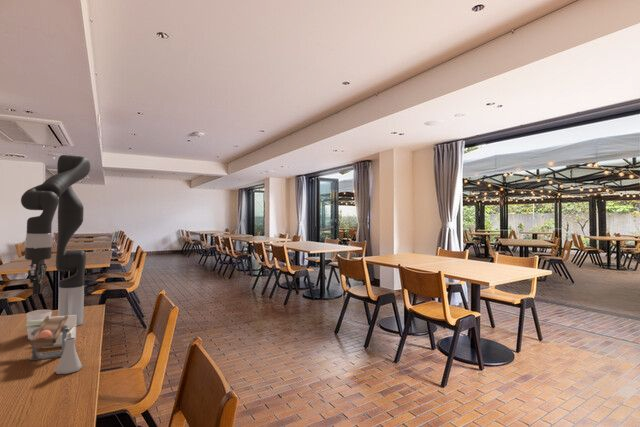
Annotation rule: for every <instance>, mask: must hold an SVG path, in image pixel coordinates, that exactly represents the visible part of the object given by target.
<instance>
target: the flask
mask: <svg viewBox="0 0 640 427" xmlns="http://www.w3.org/2000/svg"><path fill="white" fill-rule="evenodd" d="M76 340H77V337H76V338H75V337H70V338H66V339H64V342H65V347H64V351H63V354H62V356H61V357H60V359H59V361H58V364H57V366H56V367H55V370H54V371H55V373H56V375H66V374H71V373H75V372H78V371H80V370H81V369H82V368H83V365H82V363H81V360H80V358H79V355H78V353H77V349H76V345H75V344H76Z"/></svg>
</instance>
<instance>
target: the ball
mask: <svg viewBox="0 0 640 427" xmlns="http://www.w3.org/2000/svg"><path fill="white" fill-rule="evenodd" d="M51 336H52V332H51V331H49V330H44V331H42V332H40V334H39V338H50V337H51Z"/></svg>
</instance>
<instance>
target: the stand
mask: <svg viewBox="0 0 640 427" xmlns="http://www.w3.org/2000/svg"><path fill="white" fill-rule="evenodd" d="M38 329H39V328H36V329H34V330H33V332H32V333H31V335H33V337H34V336H35V334H36V332H37V331H38ZM67 332H69V328H68V326H64V327H63V332H62V346H61V350H55V351H54V350H53V351H47V352H46V351H45V352H39V348H34V345H32V354H31V356H30V357H29V359H28V362H32V361H41V360H49V359H56V358H57V359H58V358H61V356H62V354H63V351H64V347H65V342H64V339H66V338H67Z"/></svg>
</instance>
